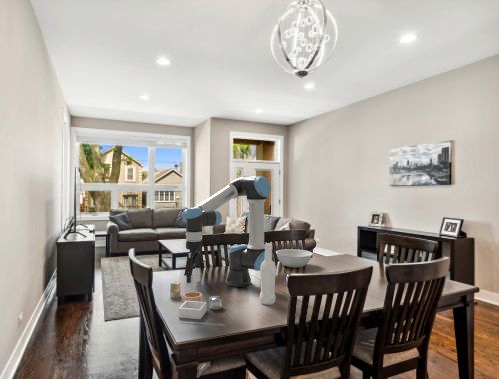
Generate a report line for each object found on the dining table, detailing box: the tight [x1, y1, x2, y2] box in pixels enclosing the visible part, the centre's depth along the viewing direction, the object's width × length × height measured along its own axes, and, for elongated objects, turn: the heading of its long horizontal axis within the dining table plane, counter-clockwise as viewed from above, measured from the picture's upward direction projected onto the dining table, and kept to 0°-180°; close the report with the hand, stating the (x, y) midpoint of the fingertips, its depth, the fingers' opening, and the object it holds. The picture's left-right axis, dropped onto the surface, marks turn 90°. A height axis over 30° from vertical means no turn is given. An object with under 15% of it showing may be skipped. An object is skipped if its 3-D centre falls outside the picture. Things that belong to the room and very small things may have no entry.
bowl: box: [275, 248, 314, 269], centre depth 250 cm, size 27×27×10 cm
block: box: [169, 281, 181, 299], centre depth 176 cm, size 4×4×8 cm
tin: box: [208, 295, 223, 311], centre depth 161 cm, size 6×6×5 cm
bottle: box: [259, 242, 277, 306], centre depth 171 cm, size 8×8×30 cm
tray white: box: [178, 301, 208, 320], centre depth 153 cm, size 10×10×5 cm
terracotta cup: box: [181, 291, 203, 305], centre depth 165 cm, size 9×9×6 cm
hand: (193, 285), depth 159 cm, fingers open, 13 cm apart
